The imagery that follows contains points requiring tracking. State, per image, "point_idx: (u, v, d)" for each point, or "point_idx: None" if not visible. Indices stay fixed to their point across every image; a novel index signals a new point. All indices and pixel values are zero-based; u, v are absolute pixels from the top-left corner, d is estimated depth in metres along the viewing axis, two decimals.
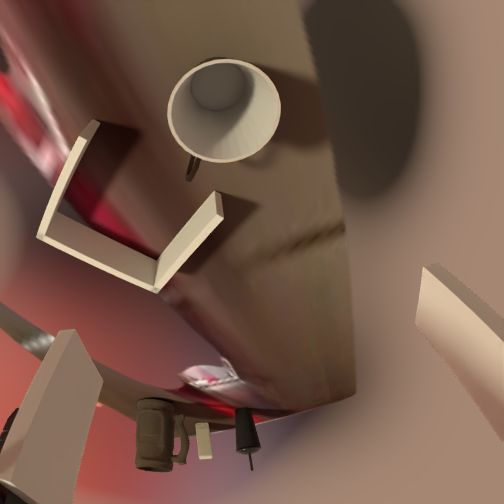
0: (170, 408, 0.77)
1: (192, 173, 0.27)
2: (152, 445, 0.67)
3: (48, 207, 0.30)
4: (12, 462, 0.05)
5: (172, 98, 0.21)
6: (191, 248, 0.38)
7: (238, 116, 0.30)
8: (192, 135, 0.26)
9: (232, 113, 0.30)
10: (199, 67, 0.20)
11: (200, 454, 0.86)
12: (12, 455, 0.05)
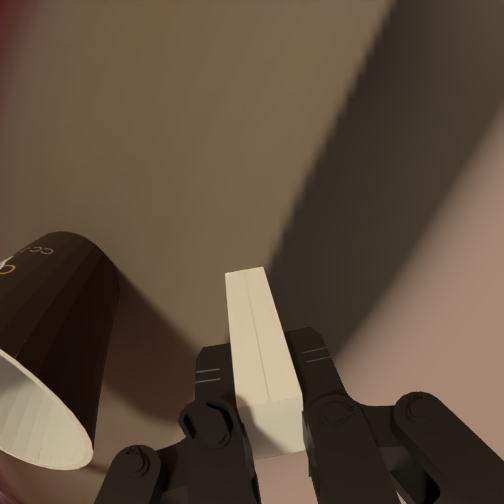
0: None
1: None
2: None
3: None
4: (258, 384, 0.07)
5: None
6: None
7: None
8: None
9: None
10: None
11: None
12: (254, 378, 0.07)
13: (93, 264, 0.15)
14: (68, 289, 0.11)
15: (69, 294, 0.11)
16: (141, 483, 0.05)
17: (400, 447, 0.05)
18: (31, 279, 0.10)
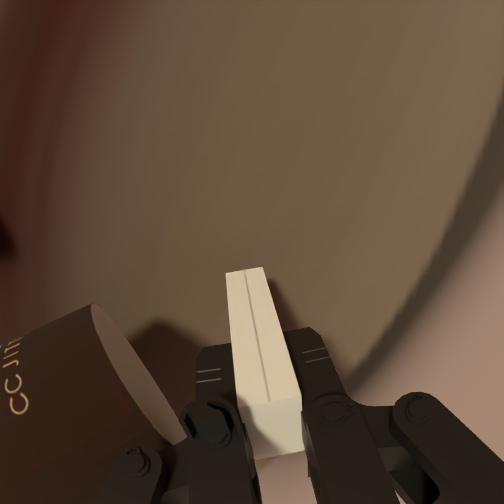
0: None
1: None
2: None
3: None
4: (259, 384, 0.07)
5: None
6: None
7: None
8: None
9: None
10: None
11: None
12: (255, 378, 0.07)
13: (98, 455, 0.06)
14: (13, 488, 0.05)
15: (12, 493, 0.05)
16: (142, 483, 0.05)
17: (399, 447, 0.05)
18: None
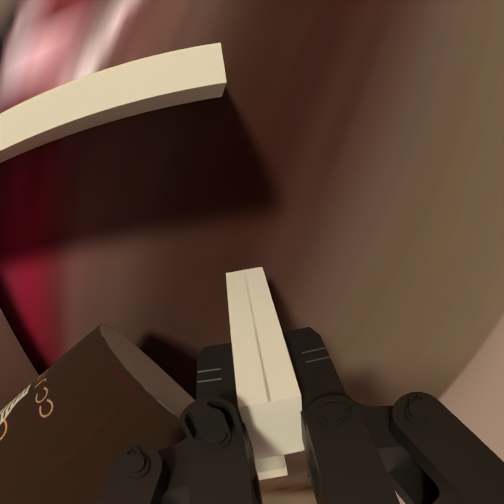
0: None
1: None
2: None
3: None
4: (259, 384, 0.07)
5: None
6: None
7: None
8: None
9: None
10: None
11: None
12: (255, 378, 0.07)
13: (114, 439, 0.07)
14: (47, 489, 0.06)
15: (47, 495, 0.06)
16: (142, 483, 0.05)
17: (398, 447, 0.05)
18: (8, 465, 0.06)
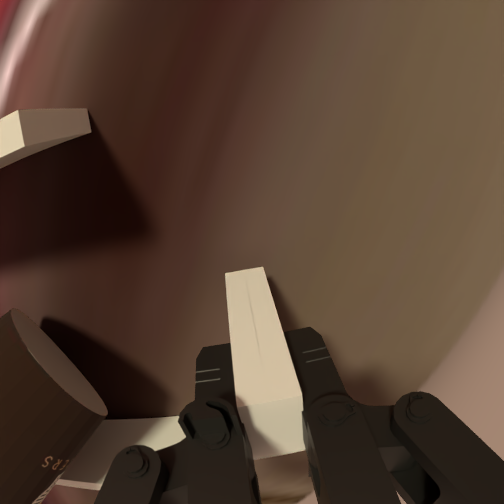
0: None
1: None
2: None
3: None
4: (258, 384, 0.07)
5: None
6: (99, 487, 0.13)
7: None
8: None
9: None
10: None
11: None
12: (254, 378, 0.07)
13: None
14: None
15: None
16: (141, 483, 0.05)
17: (400, 446, 0.05)
18: None
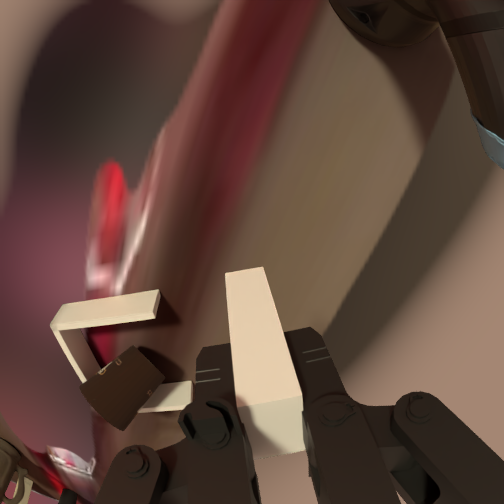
0: (18, 459, 0.54)
1: None
2: None
3: (81, 322, 0.35)
4: (258, 384, 0.07)
5: None
6: (155, 409, 0.42)
7: None
8: None
9: None
10: None
11: None
12: (254, 378, 0.07)
13: (136, 367, 0.38)
14: (117, 381, 0.36)
15: (116, 383, 0.36)
16: (141, 483, 0.05)
17: (400, 447, 0.05)
18: (105, 378, 0.36)
